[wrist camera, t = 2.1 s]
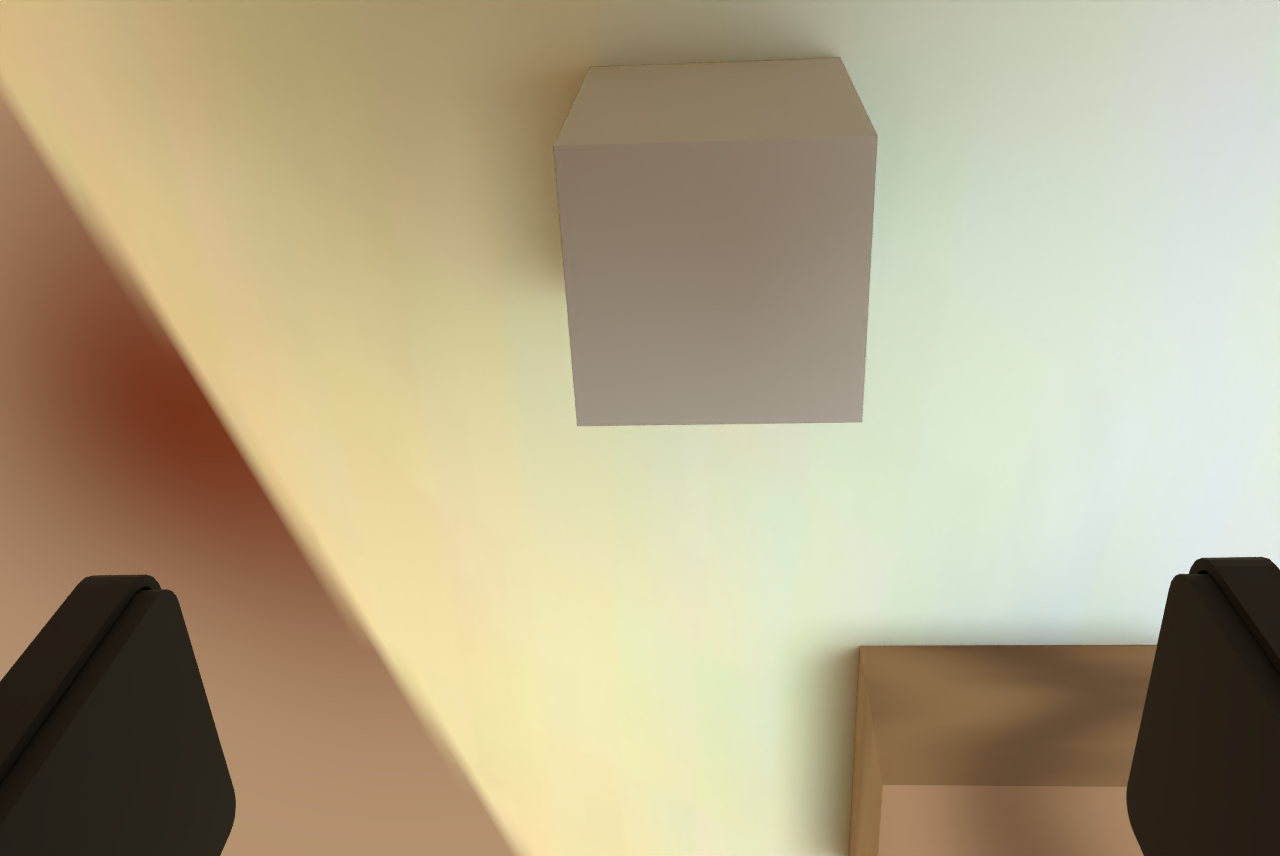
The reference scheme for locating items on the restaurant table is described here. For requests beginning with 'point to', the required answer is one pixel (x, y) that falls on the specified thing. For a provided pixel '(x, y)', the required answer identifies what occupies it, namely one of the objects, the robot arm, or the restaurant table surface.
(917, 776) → the walnut block
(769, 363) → the grey block
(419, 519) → the restaurant table surface
